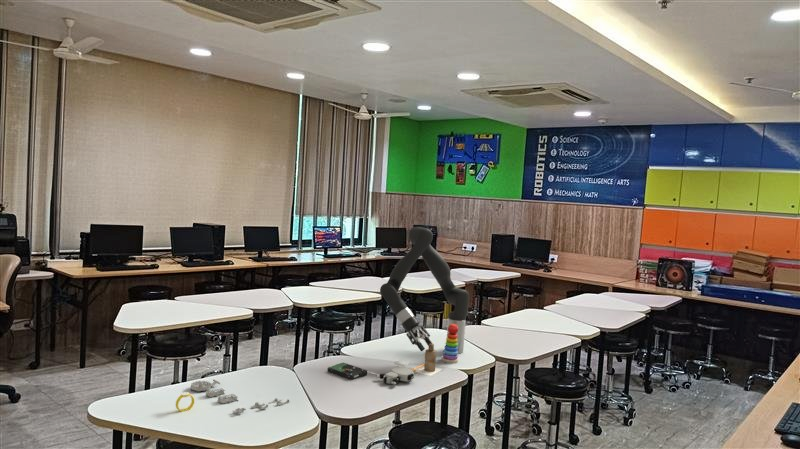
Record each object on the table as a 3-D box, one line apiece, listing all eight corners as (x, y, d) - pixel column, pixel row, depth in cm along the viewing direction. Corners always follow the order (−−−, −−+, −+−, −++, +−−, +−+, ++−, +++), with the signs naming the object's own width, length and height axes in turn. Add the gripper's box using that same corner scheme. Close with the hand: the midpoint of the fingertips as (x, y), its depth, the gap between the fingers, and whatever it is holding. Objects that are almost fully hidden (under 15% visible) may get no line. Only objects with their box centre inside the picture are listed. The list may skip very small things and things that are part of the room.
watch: (178, 414, 181) (177, 397, 180) (174, 411, 183) (174, 395, 182) (195, 409, 185) (195, 392, 185) (191, 406, 187) (191, 390, 187)
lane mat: (398, 358, 261) (398, 357, 261) (444, 369, 249) (444, 368, 249) (382, 365, 248) (382, 364, 248) (430, 378, 236) (430, 376, 236)
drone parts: (240, 378, 221) (241, 371, 221) (291, 406, 198) (292, 397, 198) (186, 388, 204) (187, 380, 204) (235, 419, 180) (236, 410, 180)
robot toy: (394, 391, 219) (419, 381, 230) (394, 380, 219) (419, 371, 229) (374, 382, 228) (399, 373, 238) (374, 372, 227) (399, 363, 238)
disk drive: (367, 376, 234) (342, 367, 243) (368, 370, 234) (343, 361, 242) (351, 382, 225) (326, 372, 234) (352, 375, 225) (327, 366, 234)
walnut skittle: (427, 367, 249) (429, 342, 248) (436, 369, 246) (438, 344, 246) (422, 370, 244) (424, 344, 244) (432, 372, 242) (433, 346, 241)
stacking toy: (453, 365, 257) (456, 326, 256) (438, 361, 261) (441, 323, 260) (460, 361, 263) (463, 324, 263) (446, 358, 268) (449, 321, 267)
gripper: (405, 317, 243) (426, 347, 238) (419, 312, 256) (439, 340, 251) (394, 326, 246) (414, 356, 241) (409, 321, 259) (428, 349, 253)
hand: (427, 348), depth 246 cm, fingers open, 8 cm apart
